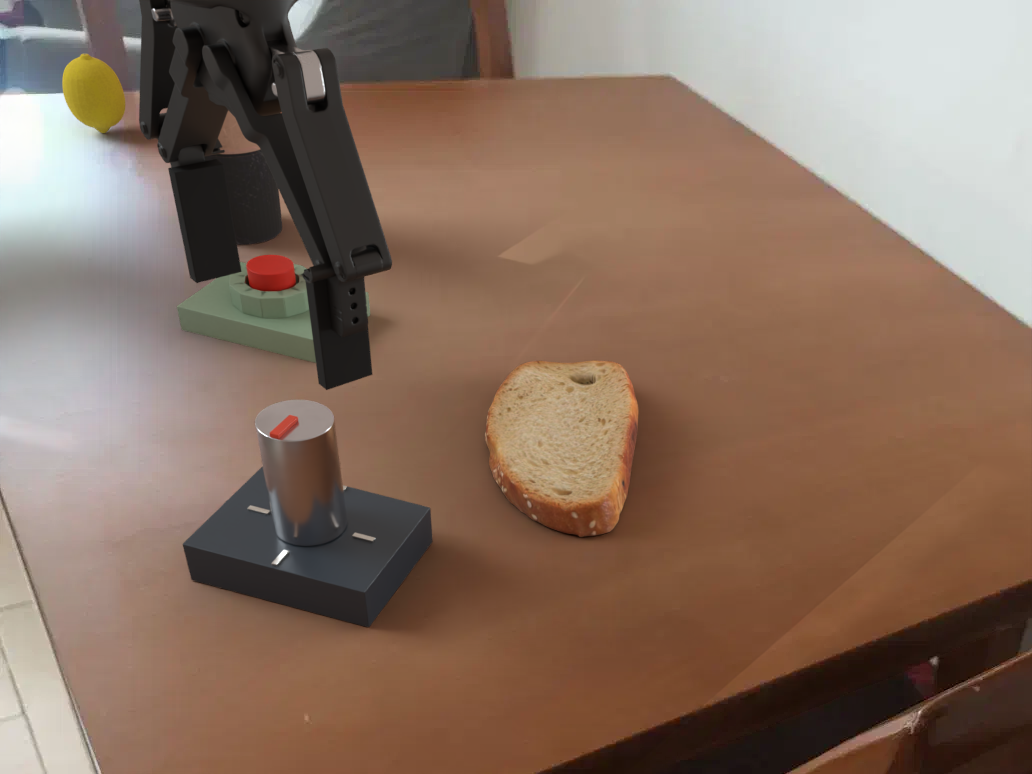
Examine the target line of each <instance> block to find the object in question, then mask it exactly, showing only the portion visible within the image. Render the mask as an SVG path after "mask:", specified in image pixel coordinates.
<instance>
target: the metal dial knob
mask: <svg viewBox="0 0 1032 774" xmlns="http://www.w3.org/2000/svg"><path fill="white" fill-rule="evenodd" d="M254 427H255V433H256V438H257V443H258V449H259V454H260V460H261V465H262V466H263V471H264V476H265V482H266V487H267V493H268V498H269V503H270V509H271V514H272V520H273V525H274V530H275V532H276V534H277V535H278V537H279V538H281V539H282V540H283V541H285V542H287V543H290V544H293V545H299V546H314V545H320V544H324V543H327V542H330V541H332V540H334V539H335V538H337V537H338V536H340V535H341V534H342V533H343V532H344V530H345V529H346V526H347V513H346V505H345V498H344V490H343V485H344V483H343V475H342V468H341V461H340V452H339V445H338V436H337V428H336V421H335V415H334V412H333V411H332V409H330V408H329V407H328V406H326V405H325V404H322V403H321V402H317V401H314V400H309V399H286V400H281V401H278V402H275V403H272V404H270V405H268V406H265V407H264V408H263V409H262V410H260V411H259V412H258V414H256V417H255V420H254Z"/></svg>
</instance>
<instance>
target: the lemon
mask: <svg viewBox="0 0 1032 774" xmlns="http://www.w3.org/2000/svg"><path fill="white" fill-rule="evenodd" d="M61 81H62V83H61V84H62V85H61V87H62V94H63V97H64V100H65V103H66V105H67V107H68V109H69V110H70V112H71V114H72V115H73V116H74V117H75V118H76V120H78V121H79V122H80V123H82V124H83V125H85V126H86V127H89V128H92V129H94V130H96V131H97V132H99V133H100V134H106V133H108V131H109V130H110V128H112V127H114V126H116V125H118V124H119V123H120V122H121V120H122V119H123V117H124V115H125V111H126V96H125V92H124V88H123V85H122V83H121V81H120V79H119V77H118V75H117V74H116V72H115V70H114V69H113V68H112V67H111V66H110V65H108V64H107V63H106V62H104V61H103V60H101V59H99V58H97V57H93V56H91V55H90V54H89V53H81V54H80V55H79V56H78V57H76V58H74V59H72V60H71V61H69V62H68V63H67V64H66V66H65V68H64V70H63V73H62V80H61Z"/></svg>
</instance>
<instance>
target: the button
mask: <svg viewBox="0 0 1032 774" xmlns="http://www.w3.org/2000/svg"><path fill="white" fill-rule="evenodd" d="M246 263H247V265H246V268H247V274H248V279H249V285H250V287H251V288H252V289H256V290H260V291H282V290H286V289H290V288H292V287H294V286H295V285H296V278H295V271H294V264H295V263H294V262H293V260H291V258H289V257H287V256H285V255H284V256H283V255H279V254H262V255H258V256H254V257H252V258H250V259H249V260H247V262H246Z"/></svg>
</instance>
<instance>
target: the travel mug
mask: <svg viewBox="0 0 1032 774" xmlns="http://www.w3.org/2000/svg"><path fill="white" fill-rule="evenodd" d="M218 139H219V141H220V143H221V145H222V148H220V150H225V152H224V153H220V154H215V155H210V156H204V158H205V161H209V160H214V159H217V160H219V161H220V162H221V163H223V165H224V171H225V177H226V182H227V188H228V194H229V200H230V206H231V212H232V218H233V224H234V230H235V236H236V242H237V246H241V245H242V246H243V245H244V246H247V245H256V244H261V243H266V242H268V241H270V239H271V240H273V239H275V238H276V237H278V236H279V235H280V234H281V232H282V230H283V219H282V218H283V217H282V210H281V209H282V208H281V200H280V191H279V189H278V187H277V184H276V182H275V180H274V178H273V176H272V173H271V171H270V169H269V167H268V165H267V162H266V160H265V158H264V156H263V154H262V151H261V149H260V147H259V146H258V145H257V144H255V143H252V142H250V141H248V140H247V139H246V138H245V137H244V135H243V134H242V132H241V129H240V127H239V125H238V123H237V121H236V118H235V117H234V116H233V115H232V114H231V113H230V111H229V110H228V112H227V115H226V118H225V120H224V123H223V126H222V128H221V131H220V134H219V136H218ZM279 233H280V234H279ZM278 234H279V235H278ZM277 235H278V236H277Z"/></svg>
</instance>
